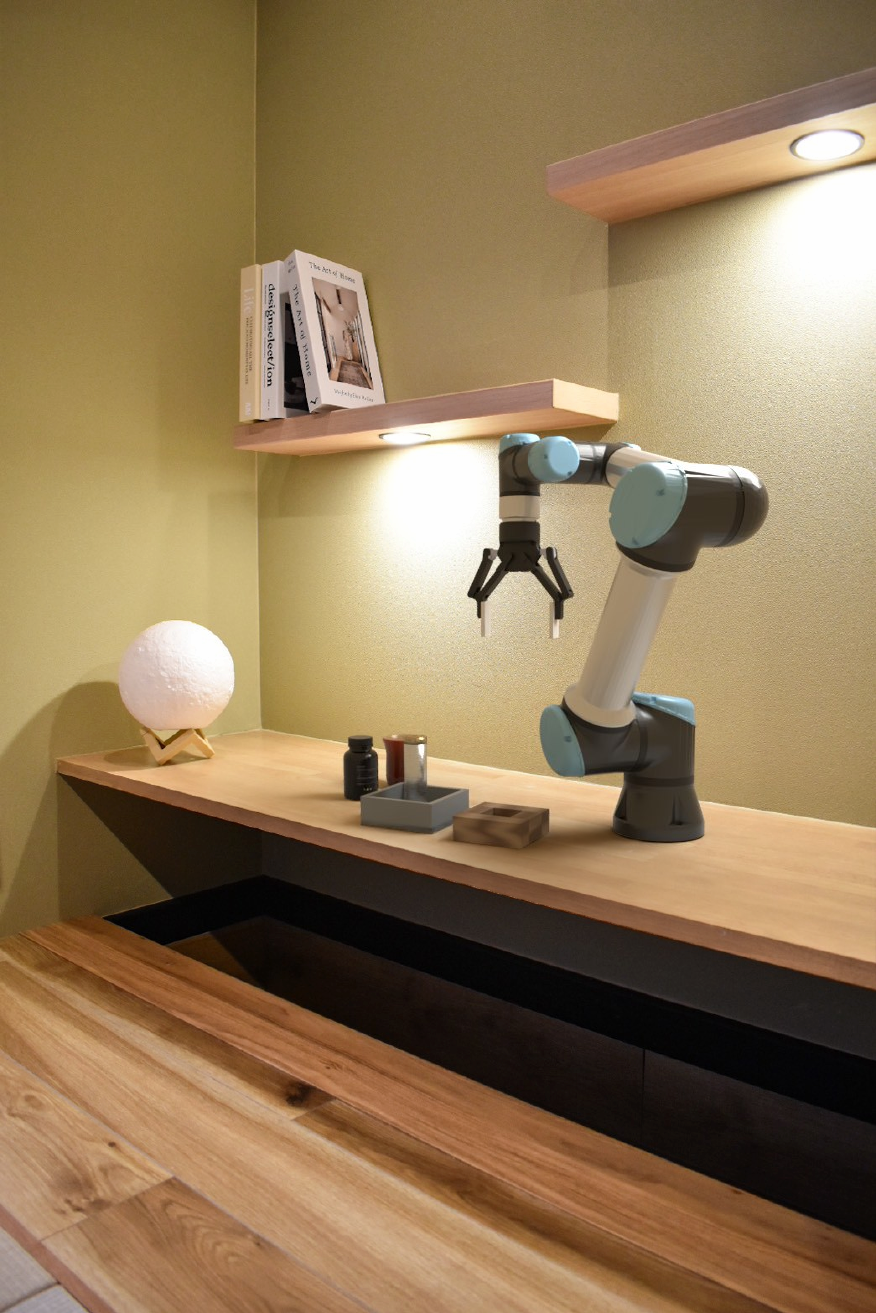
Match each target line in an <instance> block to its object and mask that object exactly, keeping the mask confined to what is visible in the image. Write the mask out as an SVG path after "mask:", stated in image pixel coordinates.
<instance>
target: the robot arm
mask: <svg viewBox="0 0 876 1313" xmlns="http://www.w3.org/2000/svg"><path fill="white" fill-rule="evenodd" d="M498 448H499V450H498V454H497V459H498V493H499V494H498V497H499V498H498V501H499V502H498V519H500V520H501V522H500V523H498V542H499V547H498V549H494V548H492V547H491V548H490V547H485V548H483V549H482V558H481V561H480V564H479V566H478V568H477V571H476V573H475V575H474V577H473V580H472V582H471V585H470V586H469V589H468V591H467V594H466V596H467V597H468V598H469V599H473V600H475V601H476V617H477V619H480V637H481V638H482V637H484V638H486V637H492V601H489V599H488V598H490V596H491V595H492V593H493V592H494V591H495V589H497V587H498V586H499V584H500V583H501V582H502V580H503V579H504V578H505V576H507V574H509V573H531V574H532V575H534V577H535V578H536V580H538V582H539V583H540V585H541V586H542V587H543V588H544V589H545V591H546V592H547V593H548V595H549V596H550V598H552V601H550V602H549V604H548V605H549V612H548V613H549V614H548V616H549V619H548V620H549V621H548V622H549V623H548V624H549V625H548V626H549V629H548V631H549V634H548V636H549V637H548V638H549V639H559V637H560V634H559V633H560V632H559V630H560V629H559V628H560V625H559V623H560V621H561V620H563V619H564V615H565V614H564V613H565V612H564V606H565V605H564V603H565V601H567V600H569V599H572V598H574V596H575V593H574V591H573V589H572V587H571V583H570V582H569V579H568V578H567V575H566V574H565V572H564V569H563V567H562V565H561V563H560V561H559V558H558V556H559V555H558V549H557V547H555V546H547V547H545V548H541V523H540V521H538V520H539V519H541V485H547V484H551V485H552V484H553V485H554V484H555V485H556V484H557V485H580V486H582V485H585V486H586V485H591V486H602V487H603V486H604V487H608V488H611V489H613V492H612V493H611V494H612V495H611V498H610V502H609V505H608V506H609V508H608V512H609V513H610V517H609V518H608V525H609V528H610V532H611V535H612V537H613V538H614V540H615V542H614V545H615V548H616V550H617V552H618V554H619V555H620V560H619V563H618V566H617V568H616V570H615V571H616V572H615V575H614V576H613V579H612V582H611V587H610V589H609V592H608V595H607V597H606V600H605V603H604V606H603V609H602V613H601V616H600V618H599V621H598V624H597V627H596V629H595V632H594V637H593V639H592V642H591V644H590V648H589V650H588V653H587V657H586V659H585V662H584V665H583V668H582V670H581V674H580V677H579V680H578V681H574V682H572V683H571V684H569V685H568V686H567V687H566V688H565V691H564V694H563V697H562V700H561V703H560V704H551V705H549V706H547V707H545V708H544V709H543V711H542V713H541V714H540V719H539V727H538V728H539V739H540V743H541V749H542V753H543V756H544V758H545V761H546V763H547V764H548V766H549V768H551V770H552V771H553V772H554V773H555V774H557V775H558V776H560V777H562V778H584V777H591V776H603V775H611V774H623V782H622V783H623V784H622V787H621V790H620V794H619V796H618V800H617V801H616V802H617V803H616V805H615V808H614V811H613V814H612V831H613V832H614V833H616V834H617V835H620V836H623V837H625V838H626V837H627V838H629V839H635V840H641V841H650V842H682V841H690V840H697V839H699V838H701V837H703V836H704V835H705V827H706V826H705V823H706V821H705V818H704V814H703V811H702V808H701V804H700V802H699V798H698V795H697V792H696V789H695V764H696V762H695V759H696V758H695V757H696V756H695V755H696V754H695V753H696V752H695V751H696V750H695V749H696V728H697V723H696V713H695V712H696V710H695V708H696V707H695V706H694V704H693V702H692V701H690V700H689V699H687V698H683V697H677V696H671V695H666V694H665V695H664V694H657V693H647V692H640V691H638V692H637V691H635V690H636V688H637V685H638V683H639V681H640V677H641V674H642V672H643V670H644V667H645V665H646V661H647V659H648V656H649V654H650V651H651V648H652V646H653V643H654V640H655V638H656V636H657V632H658V631H659V627H660V625H661V622H662V620H663V617H664V614H665V612H666V609H667V606H668V604H669V601H670V599H671V596H672V593H673V590H674V588H675V585H676V583H677V580H678V577H679V576H680V575H682V574H686V573H688V572H691V571H692V569H693V568H694V566H695V563H696V560H697V558H698V557H699V556H698V555H699V553H700V551H701V549H702V548H705V549H706V548H712V549H714V548H730V547H733V546H734V547H735V546H737V545H738V546H739V544H742V543H744V542H746V541H748V540H750V539H751V538H752V537H754V536H755V534H757V533H758V532H759V531H760V530H761V528H762V527H763V525H764V523H765V521H766V519H767V517H768V513H769V509H770V506H769V505H770V500H769V499H770V498H769V492H768V490H767V487H766V486H765V484H764V483H763V481H762V479H761V478H760V477H759V476H758V475H756V474H755V473H754V472H752V471H751V470H749V469H747V468H745V467H741V466H736V465H733V464H732V465H731V464H708V463H706V464H705V463H689V462H686V461H683V460H679V459H674V458H671V457H667V456H665V455H660V454H656V453H653V452H648V451H645V450H642V448H641V447H640V446H639V445H637V444H632V443H627V442H622V441H621V442H620V441H619V442H604V441H602V442H599V441H585V440H570V439H569V438H567V437H566V436H560V435H559V436H558V435H557V436H547V437H544V438H541V439H540V437H539V435H537V434H535V433H527V432H526V433H524V432H523V433H512V434H505V435H503V436H502V437H501V438H500V440H499V447H498ZM542 556H543V558H544V560H546V561H547V562H546V563H547V565H548V566H549V569H550V571H551V573H552V575H553V577H554V579H555V582H556V584H557V586H558V587H557V586H556V584H555V583H554V581H553V580H552V579H551V578H550V576H549V575H548V574H547V573H546V572H545V569H544V567H542V565H541V563H539V561H540V559H541V557H542ZM497 557H498V559H499V561H500V563H499V564H498V566H497V567H496V569H495V571H494V572H493V573H492V574H491V576H490V578H488V575H489V572H490V570H491V569H492V566H493V564H494V561H495V560H496V559H497ZM487 578H488V580H487V581H486V579H487ZM485 582H486V583H485ZM484 583H485V584H484ZM559 620H560V621H559Z"/></svg>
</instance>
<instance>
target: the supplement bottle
mask: <svg viewBox="0 0 876 1313" xmlns="http://www.w3.org/2000/svg"><path fill="white" fill-rule="evenodd" d="M347 747H348V748H349V749H348V750H346V751H345V752H344V753H343V756H342V761H343V765H342V767H343V769H342V770H343V772H342V773H343V797H344V798H345V799H346V800H349V801H352V802H353V801H354V802H355V801H356V802H357V801H358V802H361V796H363V795H366V794H369V793H372V792H375V791H377V790H379V754H378V752H377V751H376V750H375V749H373V747H374V737H373V736H371V735H366V734H365V735H364V734H361V735H360V734H358V735H357V734H356V735H351V736H348V738H347Z"/></svg>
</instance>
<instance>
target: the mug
mask: <svg viewBox="0 0 876 1313" xmlns="http://www.w3.org/2000/svg"><path fill="white" fill-rule="evenodd" d="M406 735H415V734H411V733H399V734H398V733H397V734H388V735H384V736H382V737H381V738H382V742H383V746H384V749H385V758H386V759H385V779H386V780H385V781H386V784H387V787H389V786H392V785H395V784H397V783H400V782H404V736H406Z"/></svg>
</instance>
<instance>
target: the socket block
mask: <svg viewBox="0 0 876 1313" xmlns="http://www.w3.org/2000/svg"><path fill="white" fill-rule="evenodd" d="M549 833H550V808H548V807H547V808H546V807H536V806H527V805H526V806H525V805H517V804H509V803H501V802H500V803H499V802H490V801H483V802H481V803H478V804H477V805H474V806H471V807H469V809H467V810H465V811H463V812H461V813H458V814H456V815H454V816H453V824H452V841H457V842H464V843H471V844H472V843H473V844H480V845H486V844H487V845H488V846H494V847H495V846H496V847H503V848H508V849H509V848H510V849H518V850H521V849H523V848H525V847H527V846H528V845H531V844H532V843H533V842H535V841H537V840H538V839H540V838H542V837H543V836H545V835H546V834H549ZM487 845H486V846H487Z"/></svg>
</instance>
